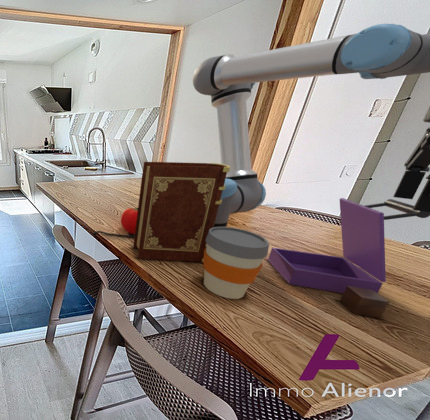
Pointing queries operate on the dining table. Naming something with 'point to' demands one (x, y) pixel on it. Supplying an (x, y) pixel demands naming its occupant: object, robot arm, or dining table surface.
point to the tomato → (129, 220)
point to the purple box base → (320, 271)
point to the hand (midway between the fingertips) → (412, 204)
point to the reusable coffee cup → (232, 260)
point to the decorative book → (177, 209)
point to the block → (364, 301)
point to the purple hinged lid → (369, 233)
